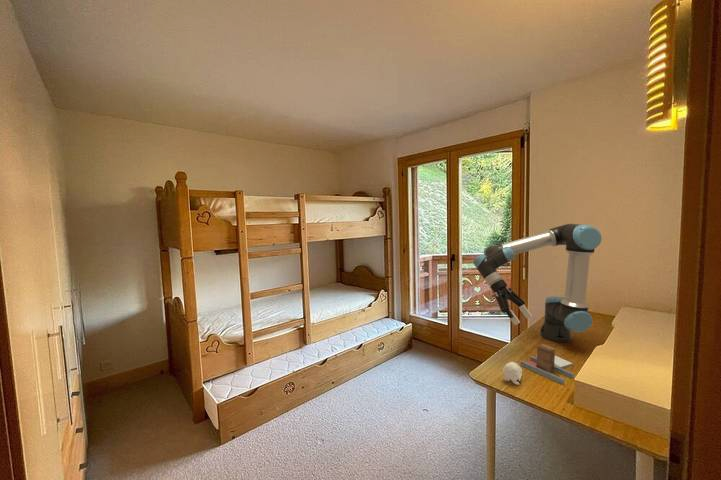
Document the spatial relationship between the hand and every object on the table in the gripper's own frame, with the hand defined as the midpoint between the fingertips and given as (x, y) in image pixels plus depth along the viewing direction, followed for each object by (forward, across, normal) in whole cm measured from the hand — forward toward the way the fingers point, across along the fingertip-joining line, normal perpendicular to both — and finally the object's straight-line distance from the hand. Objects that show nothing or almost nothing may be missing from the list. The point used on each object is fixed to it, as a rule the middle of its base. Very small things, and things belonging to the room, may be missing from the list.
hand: (523, 320), depth 139 cm
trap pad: (+18, 0, -10) cm, 20 cm away
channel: (+22, +1, -5) cm, 23 cm away
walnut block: (+22, +1, -6) cm, 23 cm away
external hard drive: (+22, -13, -6) cm, 26 cm away
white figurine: (+18, +18, -11) cm, 28 cm away
